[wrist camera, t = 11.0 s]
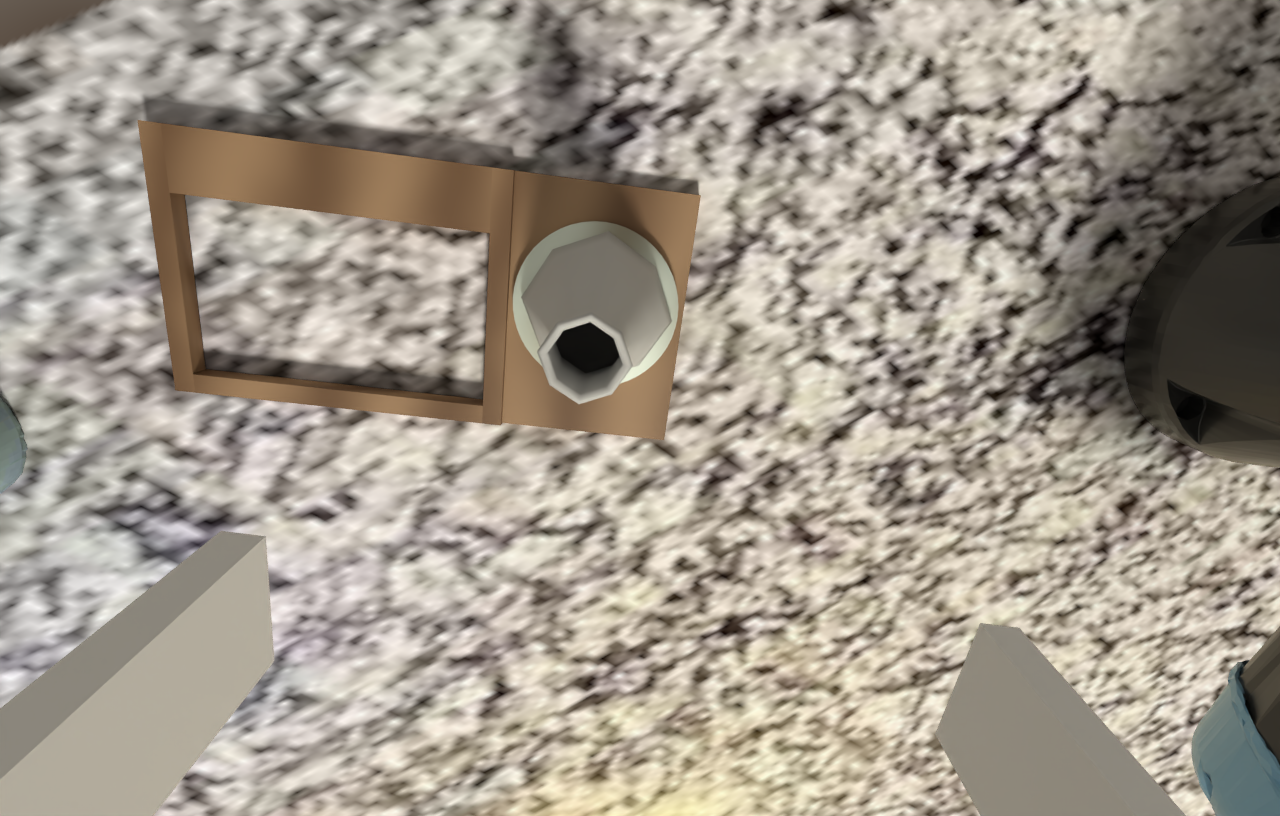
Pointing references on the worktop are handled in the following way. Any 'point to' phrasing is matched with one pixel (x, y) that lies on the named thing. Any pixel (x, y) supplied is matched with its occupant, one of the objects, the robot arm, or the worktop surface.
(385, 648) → the worktop surface
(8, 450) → the green cup
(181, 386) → the board
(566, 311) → the flask
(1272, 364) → the robot arm
